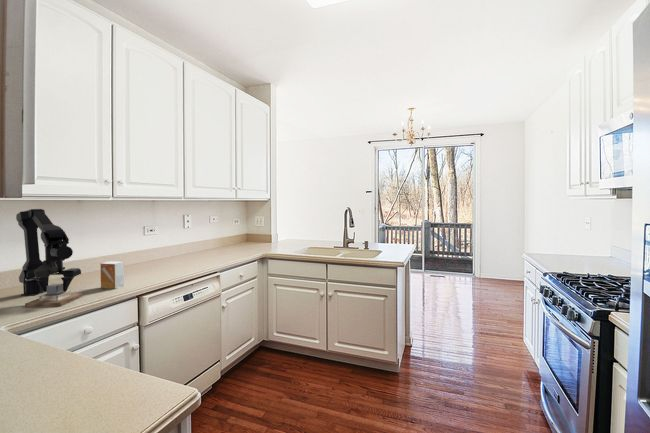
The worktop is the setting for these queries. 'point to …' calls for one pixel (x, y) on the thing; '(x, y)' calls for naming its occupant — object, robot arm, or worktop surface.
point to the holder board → (54, 300)
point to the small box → (112, 274)
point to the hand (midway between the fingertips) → (55, 291)
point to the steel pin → (54, 289)
